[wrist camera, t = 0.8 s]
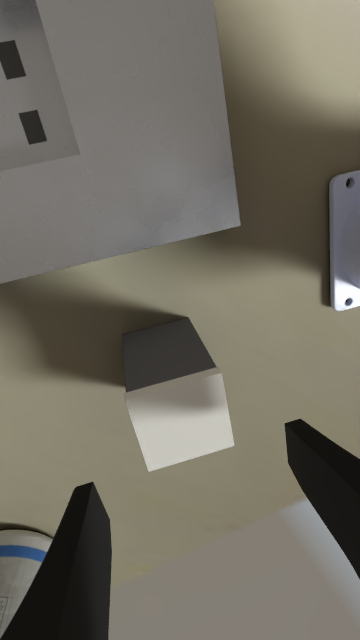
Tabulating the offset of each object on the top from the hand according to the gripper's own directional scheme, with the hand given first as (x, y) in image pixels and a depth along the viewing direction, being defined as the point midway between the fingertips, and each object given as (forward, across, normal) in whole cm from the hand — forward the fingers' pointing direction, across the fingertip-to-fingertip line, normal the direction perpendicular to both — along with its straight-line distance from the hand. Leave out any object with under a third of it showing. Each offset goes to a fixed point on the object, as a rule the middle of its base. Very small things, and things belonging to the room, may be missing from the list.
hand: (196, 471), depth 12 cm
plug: (+9, 0, 0) cm, 9 cm away
